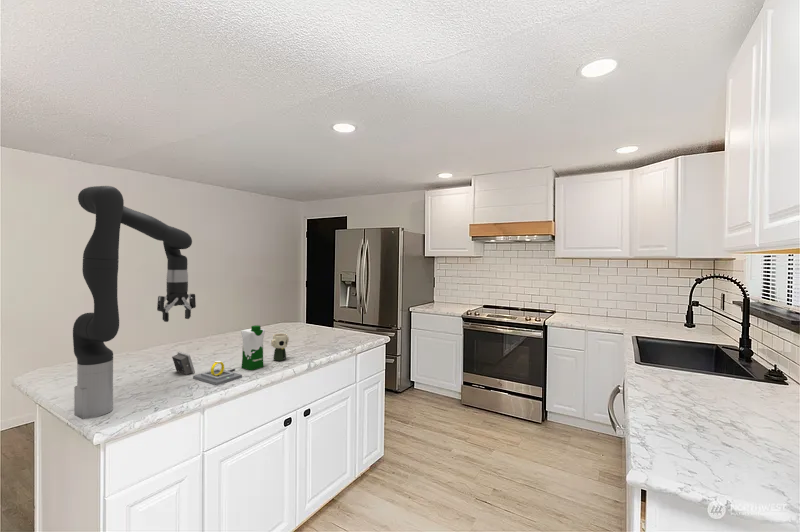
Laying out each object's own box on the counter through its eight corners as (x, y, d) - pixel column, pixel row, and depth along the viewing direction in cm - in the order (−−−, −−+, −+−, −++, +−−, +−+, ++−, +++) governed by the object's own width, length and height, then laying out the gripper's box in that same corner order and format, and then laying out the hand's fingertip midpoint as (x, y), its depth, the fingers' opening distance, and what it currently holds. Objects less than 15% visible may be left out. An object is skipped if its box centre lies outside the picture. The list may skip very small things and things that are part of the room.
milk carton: (250, 371, 169) (251, 328, 169) (238, 368, 174) (238, 325, 173) (266, 366, 177) (267, 325, 176) (254, 363, 181) (254, 323, 181)
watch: (219, 373, 162) (221, 360, 163) (224, 374, 161) (226, 360, 162) (208, 375, 157) (210, 361, 157) (213, 376, 156) (215, 362, 156)
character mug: (276, 363, 182) (276, 337, 182) (266, 361, 186) (266, 335, 185) (292, 358, 192) (293, 333, 191) (283, 356, 195) (283, 332, 195)
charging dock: (216, 385, 150) (216, 380, 150) (193, 378, 158) (193, 373, 158) (251, 374, 165) (251, 370, 165) (228, 368, 173) (228, 364, 173)
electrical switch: (195, 373, 165) (193, 353, 164) (183, 377, 160) (181, 357, 159) (184, 369, 170) (182, 350, 169) (172, 373, 165) (170, 353, 164)
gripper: (164, 282, 143) (164, 323, 143) (199, 280, 155) (199, 318, 156) (153, 281, 146) (153, 321, 147) (189, 279, 159) (188, 316, 159)
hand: (177, 320), depth 151 cm, fingers open, 8 cm apart
